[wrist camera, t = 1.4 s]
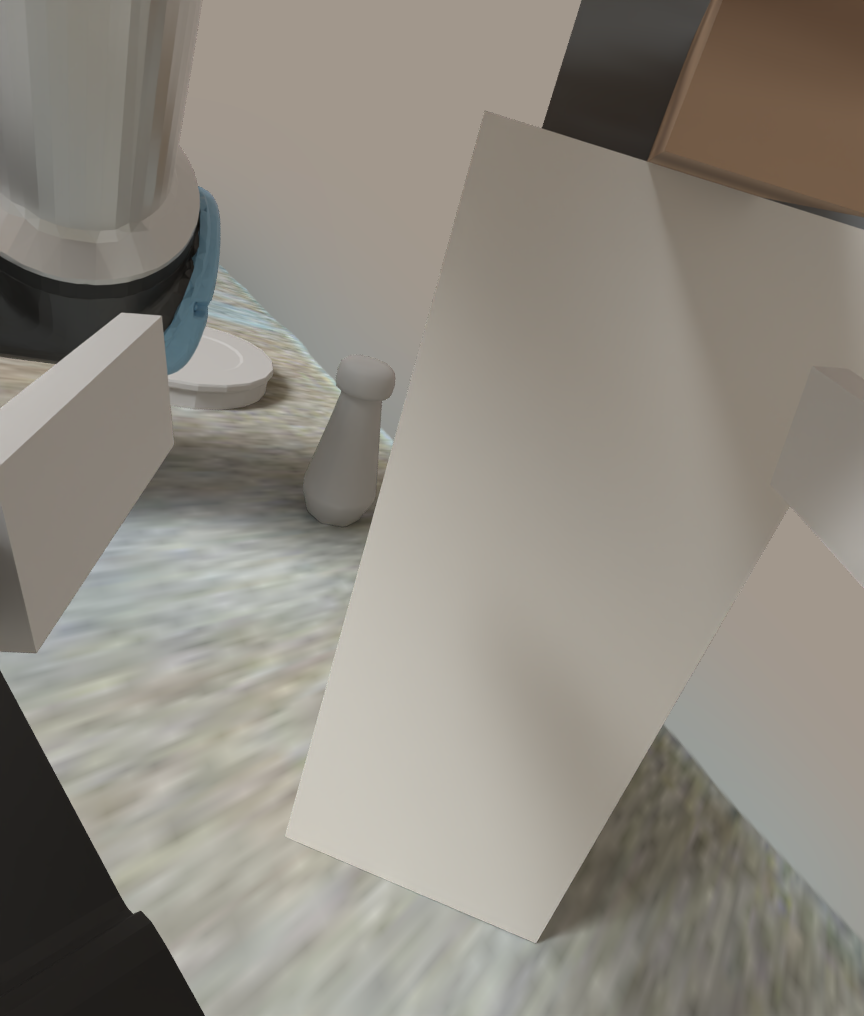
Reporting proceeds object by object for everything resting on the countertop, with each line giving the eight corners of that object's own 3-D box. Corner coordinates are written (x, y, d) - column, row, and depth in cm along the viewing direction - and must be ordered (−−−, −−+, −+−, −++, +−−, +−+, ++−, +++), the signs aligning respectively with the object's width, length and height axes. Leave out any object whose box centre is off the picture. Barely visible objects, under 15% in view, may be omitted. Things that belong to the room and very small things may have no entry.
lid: (36, 343, 72) (36, 313, 71) (223, 346, 86) (226, 321, 84) (99, 421, 62) (101, 388, 61) (300, 410, 76) (305, 383, 74)
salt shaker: (359, 497, 63) (396, 353, 57) (376, 534, 58) (419, 382, 52) (291, 492, 60) (323, 341, 54) (304, 530, 56) (340, 370, 50)
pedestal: (536, 943, 32) (937, 252, 18) (284, 836, 33) (484, 110, 19) (562, 729, 44) (813, 220, 31) (378, 656, 46) (541, 134, 32)
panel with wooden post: (1147, 302, 9) (1672, -413, 6) (443, 82, 10) (620, -633, 7) (815, 218, 25) (916, 11, 22) (560, 137, 26) (627, -72, 23)
